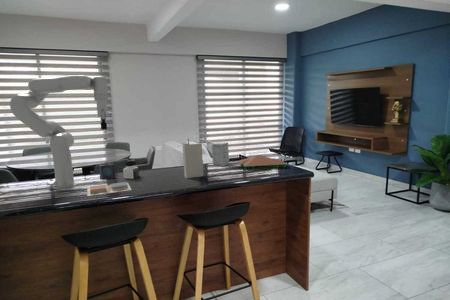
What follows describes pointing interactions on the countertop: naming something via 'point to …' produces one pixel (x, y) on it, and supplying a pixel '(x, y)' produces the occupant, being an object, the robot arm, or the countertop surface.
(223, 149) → the supplement box
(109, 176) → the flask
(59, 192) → the countertop surface
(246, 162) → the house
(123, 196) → the countertop surface
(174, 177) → the countertop surface
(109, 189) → the board
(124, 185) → the beige square tile
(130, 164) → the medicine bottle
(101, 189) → the teal square slab
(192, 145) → the beige box with antenna
